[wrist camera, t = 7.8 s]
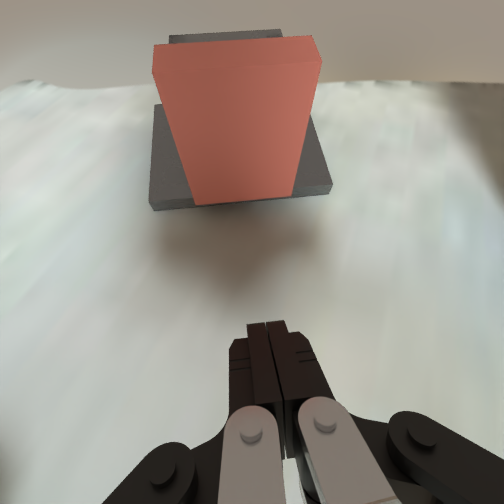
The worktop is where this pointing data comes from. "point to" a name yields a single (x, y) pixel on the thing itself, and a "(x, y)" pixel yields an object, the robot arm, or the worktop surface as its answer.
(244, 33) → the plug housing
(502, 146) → the worktop surface
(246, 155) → the red plug
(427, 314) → the worktop surface
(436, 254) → the worktop surface
